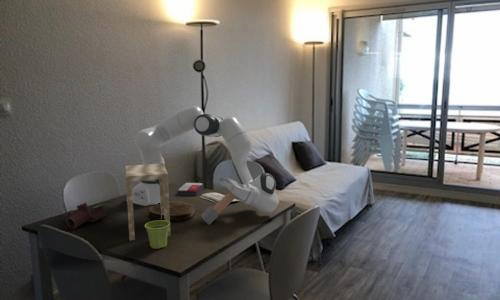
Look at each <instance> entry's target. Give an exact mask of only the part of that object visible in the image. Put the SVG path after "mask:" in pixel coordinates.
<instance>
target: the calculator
mask: <svg viewBox="0 0 500 300" xmlns="http://www.w3.org/2000/svg"><path fill="white" fill-rule="evenodd" d="M204 188H205V187H204V183H200V182H186V183H184V184H183V185H182V186H181V187H179V188H178V189H177V192H176V193H177V194H176V195H177V196H183V197H198V196H199V194H200V193H201V192H203V190H205V189H204Z"/></svg>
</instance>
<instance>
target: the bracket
mask: <svg viewBox="0 0 500 300" xmlns="http://www.w3.org/2000/svg"><path fill="white" fill-rule="evenodd" d="M76 208H77V211H76V212H75V211H74V210H72V209H71V210H70V211H68V215H69V217H67V218H66V220H65V223H66V224H67V226H68V227H69V228H70V229H71V228H73V229H72V230H75V229H77V228H78V227H80V226H82V225H83V224H85V223H86V222H90V223H94V222H97V221H99V220H101V218H104V216H106V215H107V212H106V210H105V208H104V206H103V204H100V205H97V206H95V207H94V206H93V208H92V209H93V212H94V213H92V212H91V209H90V208H89V206H88V204H87V203H86V202H82V203H80V204H78V205H76Z"/></svg>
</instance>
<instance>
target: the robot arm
mask: <svg viewBox="0 0 500 300" xmlns="http://www.w3.org/2000/svg"><path fill="white" fill-rule="evenodd" d="M192 130H194V131H195V132H196V133H197V134H199V135H200V136H202V137H208V138H218V137H222V139H223V140H224V141H225V143H226V145H227V147H228V149H229V153H230V156H231V162H232V165H233V168H234V170H235V172H236V175H237V177H238V179H239V182H240V183H239V182H238V181H236V180H234V179H232V178H230V177H228V176H226V177H221V176H220V175H218V176H217V178H216V180H217V181H219V182H221V185H222V186H223V187H225V188H226V189H228V190H229V191H231V192H232V193H233V194H234V195H235V196H237V197H236V198H237V200H239V201H241V203H243V204H245V205H247V206H252V207H253V208H254V209H255V210H258V211H260V212H262V213H266V214H272V213H273V212H275V211H276V209H278V207H279V204H280V200H279V198H278V196H277V191H276V188H277V187H276V186H277V181H276V179H275V177H274V176H273V175H272V174H271V173H268V172H262V173H261V174H259V175H258V176H257V177H255V179H253V177H252V175H251V173H250V170H249V168H248V164H247V161H248V158H249V155H250V152H251V149H252V139H251V137H250V136H249V134H248V132H247V131H246V129H245V128H244V126H243V125H242V124H241V122H239V120H238V119H237V118H236V117H234V116H227V117H225V118H222V117H221V116H218V115H215V114H211V113H210V114H209V113H204V111H203V109H202V108H201V107H200V106H197V105H192V106H189V107H187V108H184V109H181V110H179V111H177V112H175V113H173V114H172V115H169V116H168V117H165V118H164V119H163V120H162V121H160V122H159V123H157V124H156V125H153V126H149V127H147V128H143V129H141V130H139V131H138V132H137V133H136V134H135V135H134V138H133V143H134V146H135V147H136V148H137V149H138V152H139V155H140V156H141V161H142V165H145V164H161V163H163V164H164V166H165V167H166V165H165V158H164V157H163V156H162V153H161V149H160V147H162V146H163V147H164V145H166V144H168V143H170V142H172V141H173V140H175V139H178V137H181V136H182V135H185V134H186V133H189V132H190V131H192ZM238 183H239V184H240V185H241V186H242V187H240V186H239V185H238ZM132 199H133V204H136V205H140V206H150V205H153V206H154V205H159V204H158V203H160V183H159V179H155V180H142V181H139V183H137V185H135V186H134V187H132ZM239 201H238V202H239ZM126 202H127V199H126Z"/></svg>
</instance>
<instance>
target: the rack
mask: <svg viewBox="0 0 500 300" xmlns="http://www.w3.org/2000/svg"><path fill="white" fill-rule="evenodd" d="M164 164H165V163H164ZM164 164H163V163H161V164H145V165H143V164H131V165H130V164H129V165H125V184H126V185H125V186H126V200H127V201H126V203H127V205H126V206H127V218H128V219H127V220H128V221H127V222H128V234H129V235H128V237H129V242H130V241H131V242H132V240H133V241H135V240H136V238H135V237H136V236H135V221H134V220H135V218H134V203H133V199H132V189H133V184H132V182H141V181H142V180H155V179H159V183H160V204H159V205H160V220H161V219H162V215H164V219H165V221H168V222H170V223H171V214H170V212H171V210H170V196H169V195H170V191H169V190H170V189H169V188H170V187H169V173H168V171H167V169H166V165H165V166H164ZM168 237H171V224H170V225H169V228H168V236H167V238H168Z"/></svg>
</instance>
